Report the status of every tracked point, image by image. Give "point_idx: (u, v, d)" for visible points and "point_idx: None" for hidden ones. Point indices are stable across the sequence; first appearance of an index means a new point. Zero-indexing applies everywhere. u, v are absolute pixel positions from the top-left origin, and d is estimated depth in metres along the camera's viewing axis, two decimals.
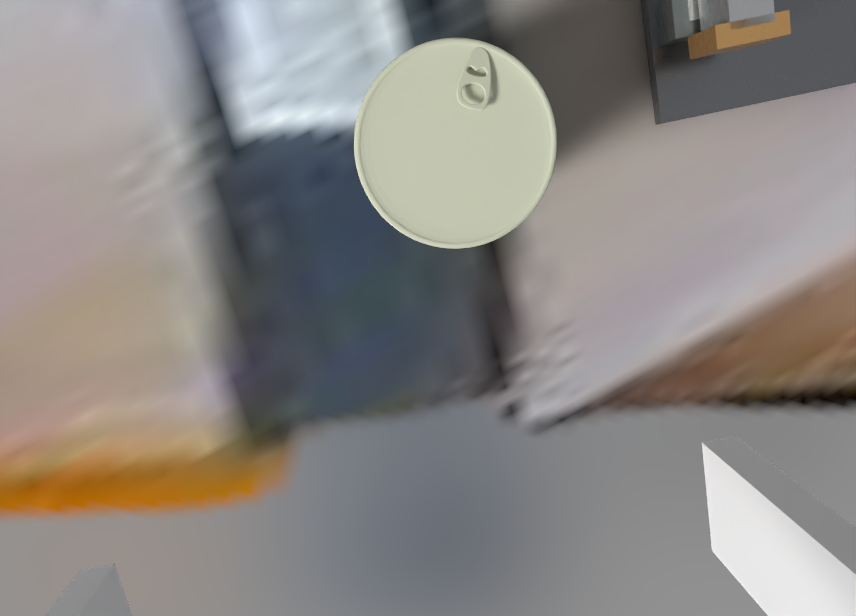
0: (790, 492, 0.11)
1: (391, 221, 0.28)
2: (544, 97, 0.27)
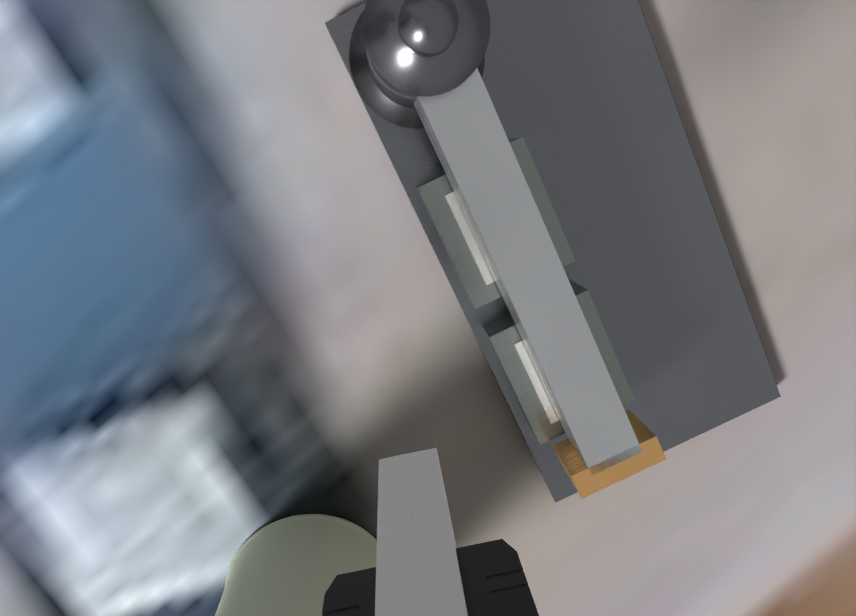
0: (432, 497, 0.13)
1: None
2: None
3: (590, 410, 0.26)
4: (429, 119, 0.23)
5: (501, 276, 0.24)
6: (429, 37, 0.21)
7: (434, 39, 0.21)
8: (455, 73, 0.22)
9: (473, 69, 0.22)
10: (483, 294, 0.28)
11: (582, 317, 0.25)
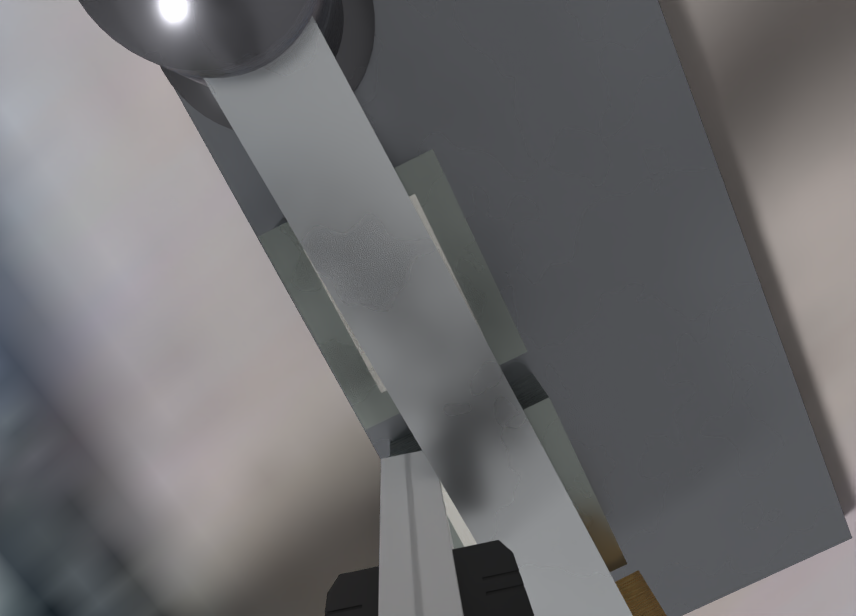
0: (428, 498, 0.13)
1: None
2: None
3: (569, 612, 0.15)
4: (231, 121, 0.12)
5: (394, 398, 0.14)
6: None
7: None
8: (256, 27, 0.11)
9: (292, 18, 0.11)
10: (377, 406, 0.17)
11: (545, 461, 0.14)
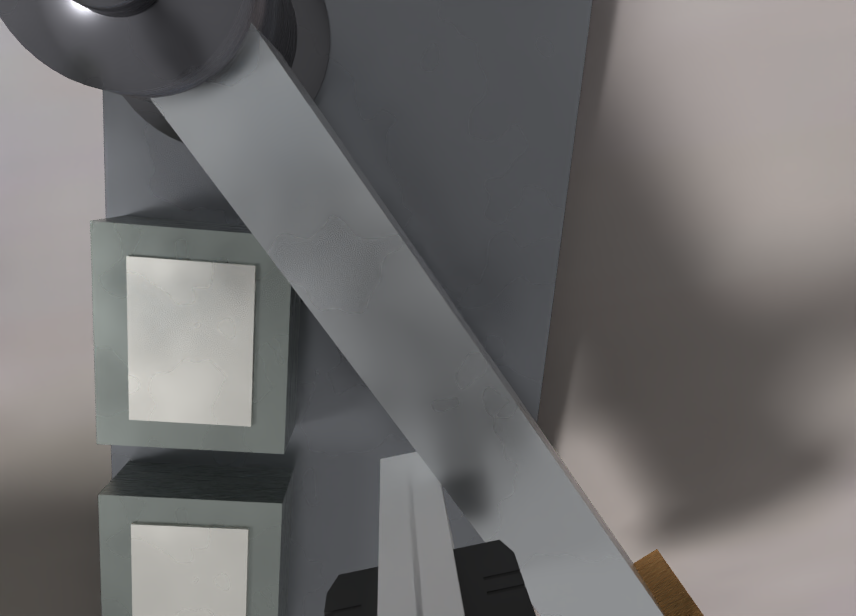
0: (429, 497, 0.13)
1: None
2: None
3: (585, 599, 0.15)
4: (183, 138, 0.12)
5: (380, 400, 0.13)
6: None
7: None
8: (193, 40, 0.11)
9: (227, 26, 0.11)
10: (119, 429, 0.17)
11: (542, 448, 0.14)
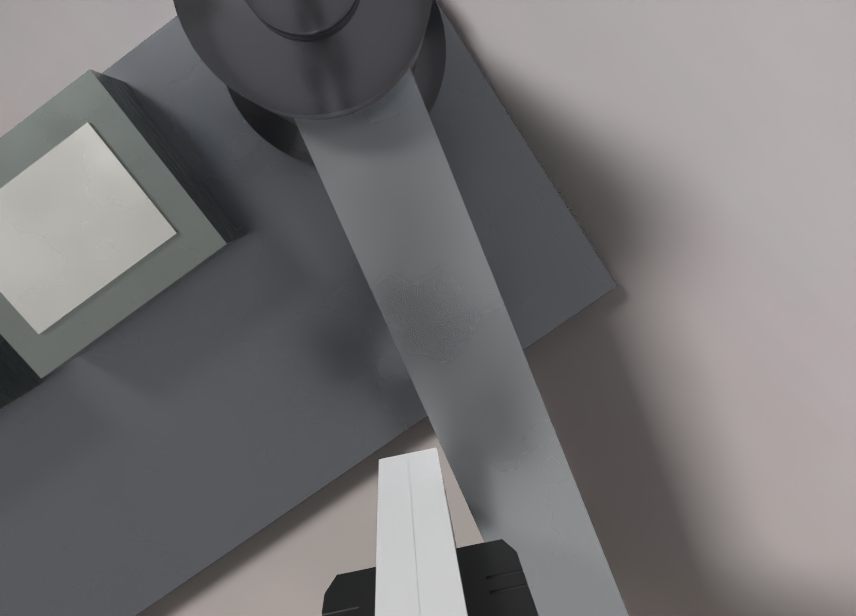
0: (431, 497, 0.13)
1: None
2: None
3: None
4: (316, 163, 0.12)
5: (445, 450, 0.13)
6: None
7: (309, 4, 0.10)
8: (360, 78, 0.11)
9: (396, 72, 0.11)
10: None
11: (587, 523, 0.14)
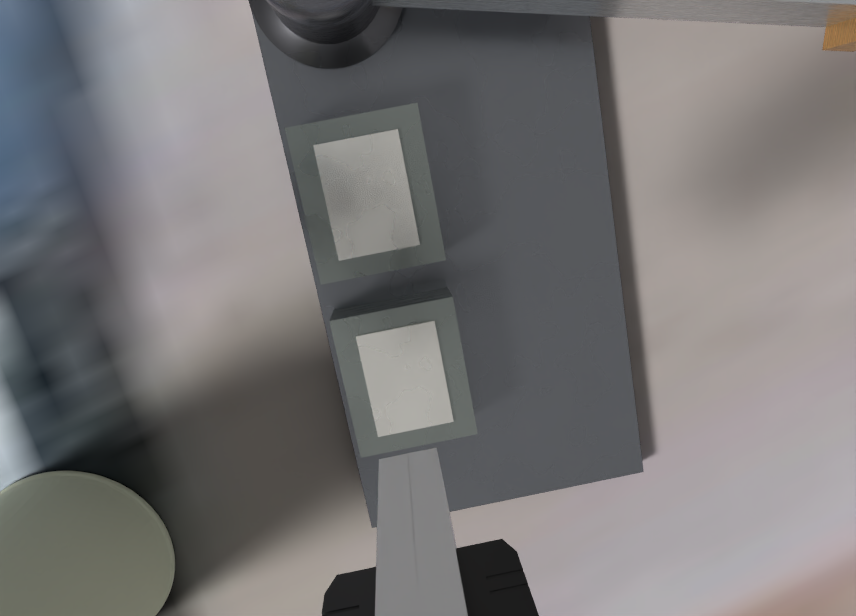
0: (431, 497, 0.13)
1: None
2: None
3: None
4: None
5: None
6: None
7: None
8: None
9: None
10: (333, 270, 0.24)
11: None
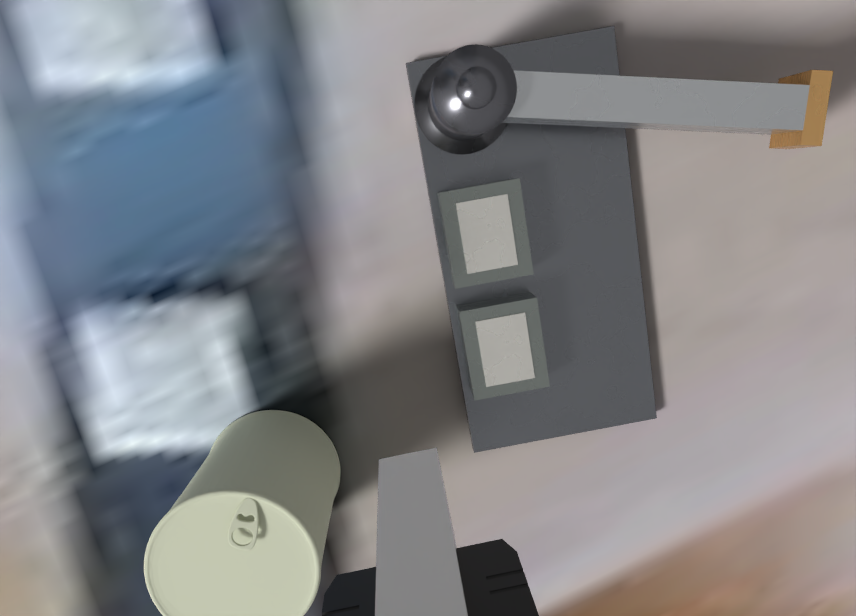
0: (432, 497, 0.13)
1: None
2: (306, 533, 0.32)
3: (764, 107, 0.34)
4: (522, 116, 0.34)
5: (640, 122, 0.34)
6: (486, 91, 0.32)
7: (489, 89, 0.32)
8: (509, 86, 0.32)
9: (513, 73, 0.32)
10: (463, 279, 0.39)
11: (699, 81, 0.34)
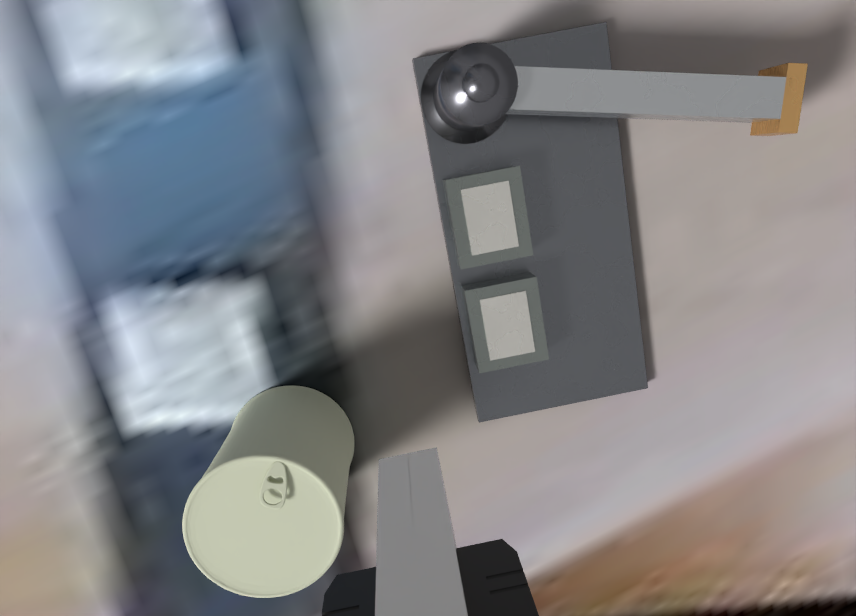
0: (432, 497, 0.13)
1: (214, 581, 0.36)
2: (331, 493, 0.35)
3: (745, 98, 0.37)
4: (522, 109, 0.36)
5: (631, 112, 0.37)
6: (490, 86, 0.34)
7: (492, 84, 0.34)
8: (511, 81, 0.35)
9: (514, 69, 0.35)
10: (468, 261, 0.42)
11: (684, 74, 0.37)
